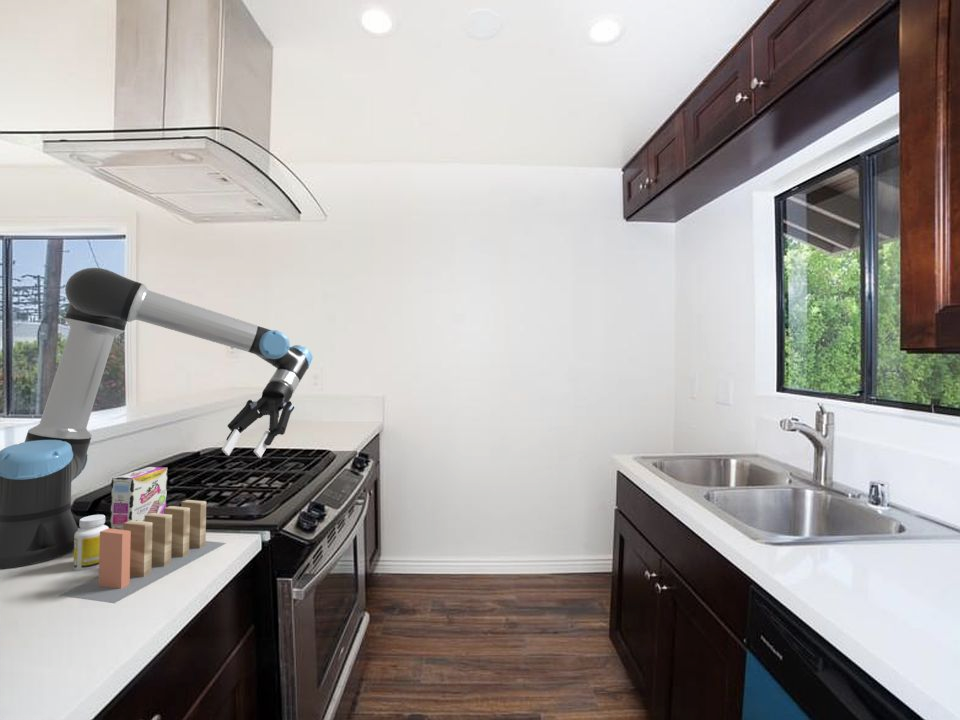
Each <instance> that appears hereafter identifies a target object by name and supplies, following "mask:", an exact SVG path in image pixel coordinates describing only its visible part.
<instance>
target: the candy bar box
mask: <svg viewBox="0 0 960 720" xmlns="http://www.w3.org/2000/svg"><path fill="white" fill-rule="evenodd" d="M168 470H169V469H168V467H164V466H163V467H162V466H161V467H160V466H147V467H144V468H141V469H139V470H135V471H131V472H128V473H124V474H121V475H117V476H114V477H112V478H111V495H110V496H111V498H110V500H111V502H110V520H109V522H110V524H109V526H110V527H109V529H118V530H123V523H125V522H128V521H130V520H134V521H144V520H145V515H147V514H150V513H159V514H164V508H166V507H167V495H168V494H167V493H168V492H167V487H168V472H169V471H168Z"/></svg>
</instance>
